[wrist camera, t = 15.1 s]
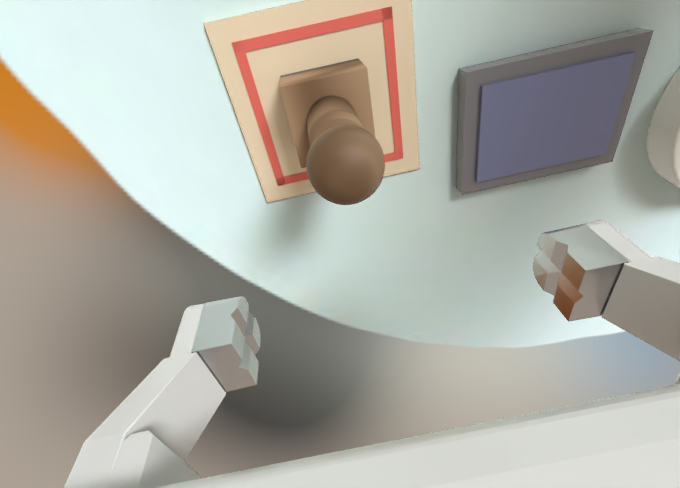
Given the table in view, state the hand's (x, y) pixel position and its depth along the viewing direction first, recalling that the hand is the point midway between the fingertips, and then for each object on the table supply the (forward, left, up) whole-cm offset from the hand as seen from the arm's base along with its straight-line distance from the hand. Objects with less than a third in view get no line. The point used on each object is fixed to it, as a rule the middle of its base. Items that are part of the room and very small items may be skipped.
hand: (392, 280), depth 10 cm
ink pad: (-15, +4, -18) cm, 23 cm away
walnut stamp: (0, 0, -17) cm, 17 cm away
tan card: (0, 0, -18) cm, 18 cm away
